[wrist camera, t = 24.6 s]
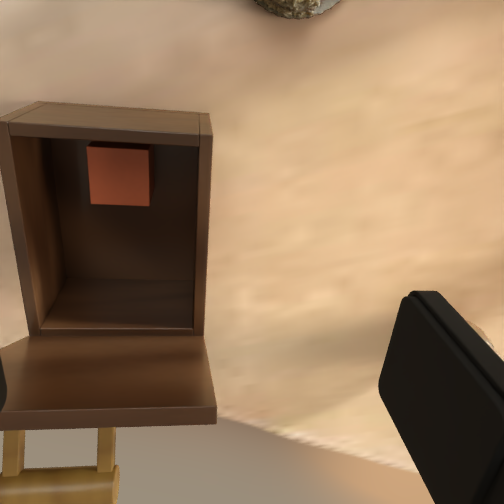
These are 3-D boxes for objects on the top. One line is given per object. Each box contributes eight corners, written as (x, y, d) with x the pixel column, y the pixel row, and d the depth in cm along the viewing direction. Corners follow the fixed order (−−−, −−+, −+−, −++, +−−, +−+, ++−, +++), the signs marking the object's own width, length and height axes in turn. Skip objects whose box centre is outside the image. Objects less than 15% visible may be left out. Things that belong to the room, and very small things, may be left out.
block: (98, 133, 36) (85, 146, 32) (153, 137, 36) (148, 150, 32) (101, 186, 38) (90, 204, 34) (154, 188, 38) (149, 206, 34)
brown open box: (37, 100, 35) (-9, 120, 27) (209, 113, 37) (213, 134, 29) (60, 281, 42) (29, 337, 34) (202, 283, 44) (203, 337, 36)
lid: (-144, 414, 17) (-150, 552, 16) (217, 405, 18) (214, 529, 18) (27, 336, 34) (25, 402, 34) (203, 335, 36) (202, 398, 36)
